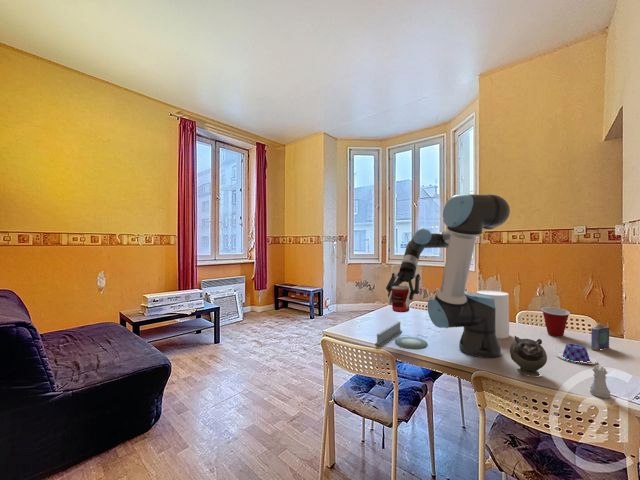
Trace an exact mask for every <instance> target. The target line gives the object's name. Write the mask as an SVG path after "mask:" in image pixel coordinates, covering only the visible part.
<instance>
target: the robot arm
mask: <svg viewBox="0 0 640 480" xmlns="http://www.w3.org/2000/svg"><path fill="white" fill-rule="evenodd" d="M510 214H511V207H510V205H509V202H508V201H507V200H506V199H504V198H503V197H501V196H499V195H497V194H475V193H474V194H473V193H472V194H471V193H468V194H467V193H464V194H455V195H453V196H451V197H450V198H449V199H447V201H446V203H445V204H444V207H443V211H442V218H443V220H442V221H443V223H444V224H445V226H447V228H446V230H444V231H442V232H431V231H430V230H429V229H426V228H419V229H417V230H416V231H415V233H414V234H413V236H412V238H411V240H409V241H408V242H407V244H406V246H405V251H404V254H403V257H402V260H401V263H400V267H399V270H398V272H397V273H394V272H393V273H391V277H390V279H389V281H388V282H387V285H386V287H385V289H386V291H387V292H388V294H387V297H388V299H387V303H388V306H392V287H393V286H401V284H402V283H405V282H406V283H408V287H409V292H408V295H407V299H406V303H405V304H406V306H407V307H409V308H410V303H411V301H413V300H414V295H419V293H420V280H421V276H420V273H417V274H416V272H417V268H418V263H419V260H420V256H421V254H422V253H423V251H424V250H425V249H434V248H435V249H437V248H438V249H439V248H440V249H441V248H442V249H444V248H447V253H446V258H445V264H444V268H443V275H442V281H441V284H440V285H441V286H440V288H439V289H438V290H437V291H435V296H434V298H433V297H432V298H430V299H429V300H428V302H427V307H426V308H427V313H428V316H429V319H430V320H431V322H432V324H433V326H435V327H437V328H440V329H441V328H442V329H445V328H446V329H449V328H451V329H452V328H462V327H463V331H462V333H461V336H460V339H459V343H458V345H459V347H458V348H459V350H460V351H462V352H463V353H465V354H467V355H470V356H473V357H474V356H475V357H478V358H488V359H489V358H490V359H491V358H498V357H500V356H501V355H502V348H501V344H500V343H499V342H500V341H499V338H497V337H496V330H495V329H496V328H495V309H496V308H495V301H494V299H493V298H491V297H488V296H484V295H478V294H477V293H471V292H470V293H469V292H466V287H467V286H466V285H467V283H468V276H469V271H470V267H471V262H472V257H473V254H474V248H475V243H476V239H477V237H479V236H481V235H482V234H483V233H482V232H483V231H485V230H488V231H489V230H493V229H496V228H498V227H499V226H502V225H503V224H505V223H506V222H507V220H508V219H509V217H510ZM413 279H415V280H414V286H413V283H412V282H413Z"/></svg>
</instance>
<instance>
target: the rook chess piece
mask: <svg viewBox="0 0 640 480" xmlns="http://www.w3.org/2000/svg"><path fill="white" fill-rule="evenodd" d="M591 370H592V372H593V376H594V377H593V378H594V379H593V383H592V384H591V385H590V386H589V387H590V388H589V392H590V393H591V394H592V395H594V396H595V397H598V398H602V399H609V398H610V397H612V396H611V391H610V390H609V387H608V385H607V380H606V379H607V376H606V375H607V374H608V371H607V369H606V368H605V367H604V366H599V365H597V366H595V365H593V368H592V369H591Z"/></svg>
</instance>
